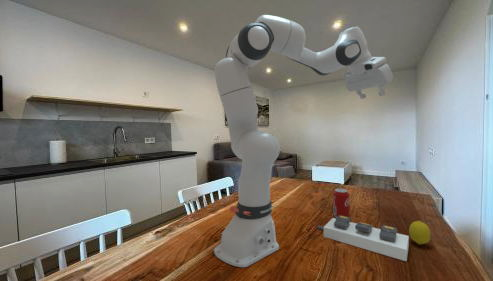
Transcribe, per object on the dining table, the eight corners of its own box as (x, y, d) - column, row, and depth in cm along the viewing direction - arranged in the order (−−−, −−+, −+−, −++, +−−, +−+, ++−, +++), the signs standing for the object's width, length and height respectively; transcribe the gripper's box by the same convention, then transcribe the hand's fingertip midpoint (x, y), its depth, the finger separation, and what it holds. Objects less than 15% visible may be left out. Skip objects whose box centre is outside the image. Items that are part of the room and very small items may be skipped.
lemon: (404, 240, 73) (405, 217, 73) (421, 240, 73) (421, 217, 73) (417, 249, 68) (417, 224, 67) (435, 249, 67) (435, 224, 67)
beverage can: (351, 220, 90) (350, 192, 89) (335, 219, 91) (334, 192, 90) (347, 214, 96) (346, 188, 95) (332, 214, 97) (331, 188, 96)
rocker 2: (368, 233, 69) (368, 227, 70) (355, 229, 72) (355, 224, 72) (372, 229, 74) (372, 224, 74) (359, 226, 77) (359, 221, 77)
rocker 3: (394, 242, 65) (394, 237, 65) (379, 238, 68) (379, 233, 67) (396, 232, 70) (396, 227, 69) (382, 228, 72) (382, 223, 72)
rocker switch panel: (406, 261, 62) (406, 249, 62) (312, 233, 80) (312, 224, 80) (408, 246, 69) (408, 235, 69) (322, 223, 87) (322, 215, 87)
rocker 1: (346, 230, 74) (345, 225, 74) (334, 226, 77) (333, 222, 76) (350, 221, 79) (350, 216, 78) (339, 218, 81) (338, 214, 81)
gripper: (338, 75, 98) (348, 102, 101) (377, 62, 79) (389, 96, 81) (348, 69, 100) (358, 96, 102) (389, 56, 80) (400, 89, 83)
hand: (372, 96), depth 92 cm, fingers open, 8 cm apart
